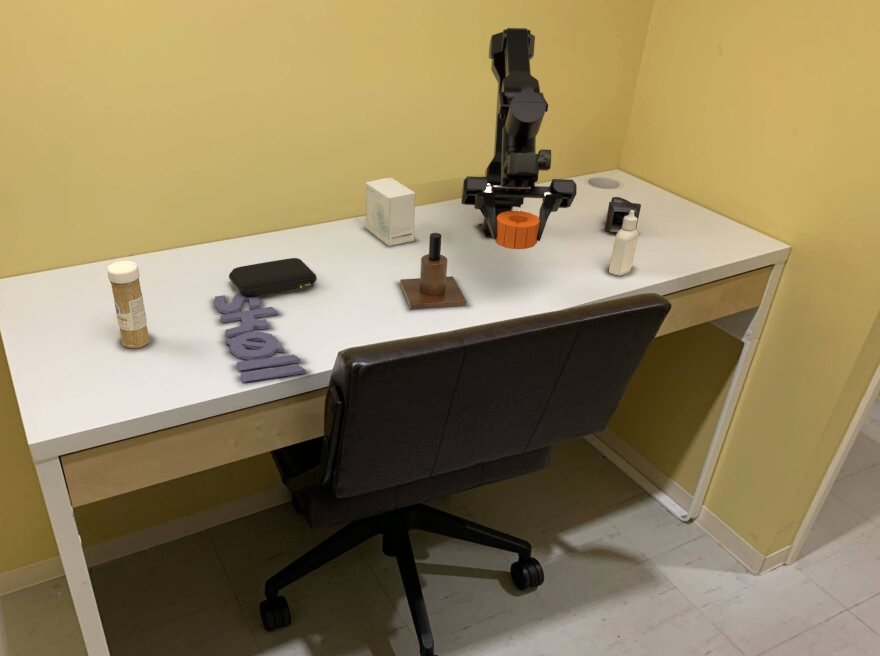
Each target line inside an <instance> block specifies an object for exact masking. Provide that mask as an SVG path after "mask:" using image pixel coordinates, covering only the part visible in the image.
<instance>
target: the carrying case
mask: <svg viewBox="0 0 880 656" xmlns="http://www.w3.org/2000/svg"><path fill="white" fill-rule="evenodd" d="M228 279H229V280H230V282H231V284H233V286H234V288H236V289H237V291H238V293H241V294H242V295H244V296H245V297H254V296H257V297H258V298H259V297H264V296H268V295H274V294H280V293H286V292H290V291H295V290H303V289H306V288H310V287H312V286H313V285H314V284H315V283H316V282H317V279H318V278H317V275H316V273H315V272H314V271H313V270H312V269H311V268H310V267H309V266H308V265H307V264H306V263H305V262H304V261H302V259H300V258H299V257H291V258H290V257H288V258H284V259H277V260H272V261H265V262H259V263H253V264H248V265H242V266H238V267H234V268H233V269H232V270H231V271H230V272H229V275H228Z"/></svg>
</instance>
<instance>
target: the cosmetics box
mask: <svg viewBox="0 0 880 656" xmlns="http://www.w3.org/2000/svg"><path fill="white" fill-rule="evenodd" d="M416 195H417V193H416V192H414V191H413V190H412V189H410V188H408V187H407V186H405V185H404V184H402V183H401V182H399V181H397V180H396V179H394V178H393V177H391V176H390V177H384V178H380V179H374V180H369V181H366V182H365V229H366V230H367V231H368V232H370V233H371V234H372V235H374V236H375V237H376V238H378V239H379V240H380V241H382V242H383V243H384V244H385V245H386V246H388V247H391V246H392V247H393V246H396V245H400V244H405V243H410V242H414V241H415V218H416V217H415V216H416V215H415V213H416Z"/></svg>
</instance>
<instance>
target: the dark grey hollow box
mask: <svg viewBox="0 0 880 656" xmlns="http://www.w3.org/2000/svg"><path fill="white" fill-rule="evenodd" d="M641 208H642V204H641V203H637V202H636V203H635V202H631V201H629V200H628V199H627V198H623V197H620V196H612V197H611V200H610V201H609V202H608V207H607V213H606V220H605V226H604V231H605V232H612V233H618V231H619V230H620V229H622V225H623V220H624V217H625V216H628V215H629V213H630V210H634V216H635V217H636V218H637V224H636V228H637V226H638V222H639V217H640V212H641Z"/></svg>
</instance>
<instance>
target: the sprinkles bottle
mask: <svg viewBox="0 0 880 656" xmlns="http://www.w3.org/2000/svg"><path fill="white" fill-rule="evenodd" d="M106 271H107V277H108V281H109V284H110V286H111V291H112V296H113V302H114V303H113V304H114V308H115V309H114V310H115V314H116V319H117V325H118V327H119V329H118V330H119V334H120V342H121V343H120V344H121V345H122V346H123V347H124V348H126V349H140V348H142V347H144V346H147V345H148V344H149V343H150V340H151V337H150V335H149V329H148V322H147V315H146V308H145V303H144V297H143V293H142V289H141V288H142V287H141V281H140V269H139V265H138V264H137V263H136V262H135V261H131V260H120V261H115V262H113V263H111V264H110V265H108V266H107V269H106Z"/></svg>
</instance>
